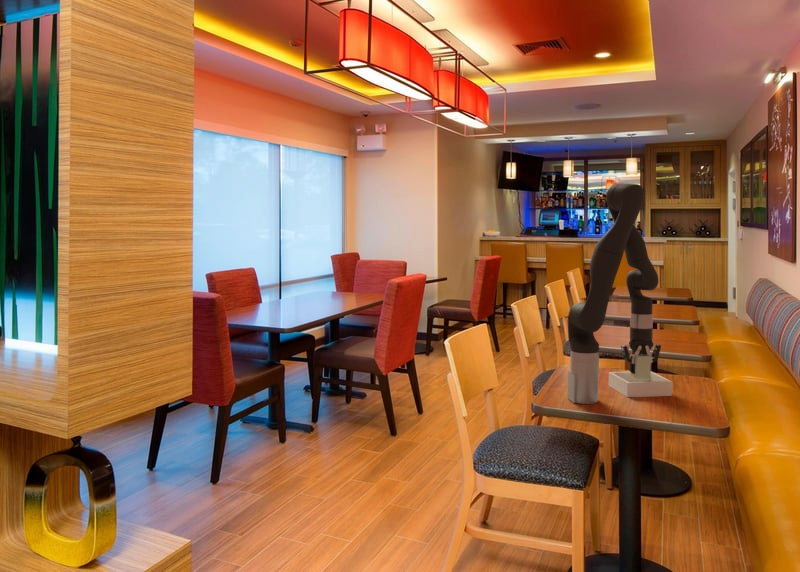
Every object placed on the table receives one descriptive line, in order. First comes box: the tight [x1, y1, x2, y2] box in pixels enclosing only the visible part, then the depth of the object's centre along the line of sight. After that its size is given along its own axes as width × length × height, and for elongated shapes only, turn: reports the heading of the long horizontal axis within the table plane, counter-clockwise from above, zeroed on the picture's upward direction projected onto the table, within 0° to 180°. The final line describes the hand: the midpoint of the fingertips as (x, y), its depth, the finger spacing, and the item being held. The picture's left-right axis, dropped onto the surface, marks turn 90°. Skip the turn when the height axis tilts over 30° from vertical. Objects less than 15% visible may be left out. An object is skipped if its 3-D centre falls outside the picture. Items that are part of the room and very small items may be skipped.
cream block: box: [631, 354, 652, 379], centre depth 219 cm, size 5×5×8 cm
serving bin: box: [608, 370, 673, 398], centre depth 220 cm, size 16×16×5 cm
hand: (640, 372), depth 219 cm, fingers closed on cream block, 5 cm apart
